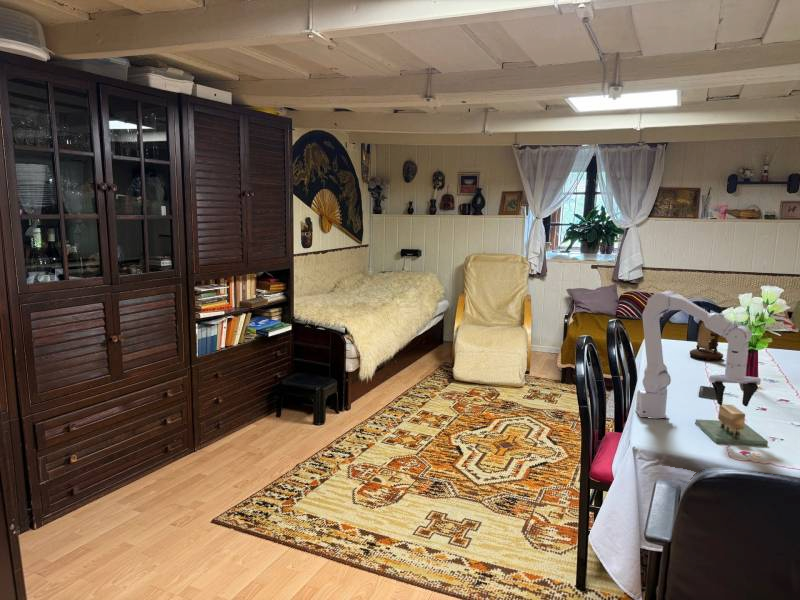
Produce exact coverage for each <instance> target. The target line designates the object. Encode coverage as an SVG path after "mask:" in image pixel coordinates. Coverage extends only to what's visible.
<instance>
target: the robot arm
mask: <svg viewBox="0 0 800 600" xmlns="http://www.w3.org/2000/svg"><path fill="white" fill-rule="evenodd" d="M668 311H682V312H683V313H685V314H687V315H690V316H691V317H694V318H696V319H698V320H699V321H700V320H702V321H703V322H704V323H705V326H706V328H708V329H710V330H712V331H713V332H712V333H714V334H716V333H717V334H719V335H720V336H719V337H722V338H725V340H726V341H727V344H728V345H727V349H726V358H725V369H724V374H716V375H715V374H714V375H713V374H711V375H709V380H708V381H709V382H710V383H711V385H712V387H714V390H715V393H716V397H717V400H716V403H717V405H719V406H720V405H722V404H723V402H724V401H723V400H724V392H725V390H726V386H725V383H727V384H742V389H743V391H742V392H743V394H742V399H741V400H742V401H741V402H742V405H743V406H745V407H748V405H749V403H750V401H751V399H752V398H753V395H754V394H755V393H756V392H757V391H758V389H759V386H760V385H761V381H762V379H761V378H760V377H756V376H749V375H748V376H747V366H748V356H749V344H750V343H749V342H750V341H751V339H752V337H753V333H752V331H751V329H750V328H749V327H747V325H744V324H739V322H737V321H733V320H731V319H729V318H727V317H725V314H724V313H722V312H720V313H718V312H712V313H710V312H708V311H707V310H705V309H704V308H702V307H700V306H699V305H697V304H695V303H694V302H692V301H690V300H689V299H688V298H686V297H684V296H683V295H681V294H679V293H676V292H675V291H673V290H666V291H662V292H656V293H653V294H652V295H651V296H650V297H649V298H647V303H646V305H645V307H644V309H643V312H642V315H641V316H642V326H643V334H644V335H643V337H644V344H645V347H644V348H645V355H646V357H645V358H646V367H644V368H645V369H644V370H643V371H644V374H643V375H644V376H643V379H642V386H643V388H644V389H640V390H637V393H636V402H635V404H636V405H635V410H634V411H635V412H636V413H637V414H638V416H639V417H640V418H641V417H651V418H650V419H657V418H666V419H665V420H670V417H669V416H668V414H667V412H666V411H667V400H668V386H669V385H670V384H671V382H672V381H671V380H672V378H671V376H670V374H669V372H668V367H667V365H666V364H665V363H664V356H663V346H662V345H663V343H662V335H661V334H662V333H661V325H660V318H662V317H663V316H664V315H665V314H666V312H668Z"/></svg>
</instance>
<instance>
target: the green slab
mask: <svg viewBox="0 0 800 600" xmlns="http://www.w3.org/2000/svg"><path fill="white" fill-rule="evenodd" d="M694 422H695V423H696V424H697V425H698V426H699V427H700V428H701V429H702V432H703V433H704V434H706V436H708V437H709V438H710V440H712V441H713V442H714V444H724V445H725V444H726V445H727V444H728V445H744V446H746V445H747V446H759V447H768V446H769V445H768V443H769V441H768V440H767V439H766V438H764V437H763V436H762V435H760V434H759V433H758V432H757V431H756V430H754V429H753V428H752V427H750V426H749V425H748V424H746V423H745V422H744V429H730V428H729V427H728V426H726V425H725V424H724V423H723V422H722V421H720V420H715V419H712V420H710V419H698V418H697V419H695V421H694ZM696 424H695V425H696ZM698 426H697V427H698ZM699 427H698V428H699ZM700 428H699V429H700ZM701 429H700V430H701Z"/></svg>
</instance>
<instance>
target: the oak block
mask: <svg viewBox="0 0 800 600" xmlns="http://www.w3.org/2000/svg"><path fill="white" fill-rule="evenodd" d="M718 407H719V408H718V418H717V419H718V421H722V422H723V423H724V424H725V425H726V426H728V427H729V428H730V429H744V423H745V422H746V421H745V419H746V413H744V412H743V411H742V410H740V409H739V408H737V407H736V406H735V405H733V404H723V403H722V405H719V406H718Z"/></svg>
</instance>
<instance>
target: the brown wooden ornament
mask: <svg viewBox="0 0 800 600" xmlns="http://www.w3.org/2000/svg"><path fill="white" fill-rule="evenodd" d="M697 329H698V330H697V331H696V334H697V337H696V338H697V339H696V348H694V349H691V350H689V356H690V358H692V357H696V358H701V359H706V361H707V362H709V361H710V360H711V359H712V360H719V359H720V360H722V359H723V358H724V354H723V353H721V351H718V347H719V337H721V336H720V335H719V334H717V333H715V332H713V331H712V330H710V329H708V328H706V326H705V323H704V322H703V321H702V320H700V319H699V321H698V328H697ZM711 337H714V338H712V339H711ZM710 339H711V340H710Z"/></svg>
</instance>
